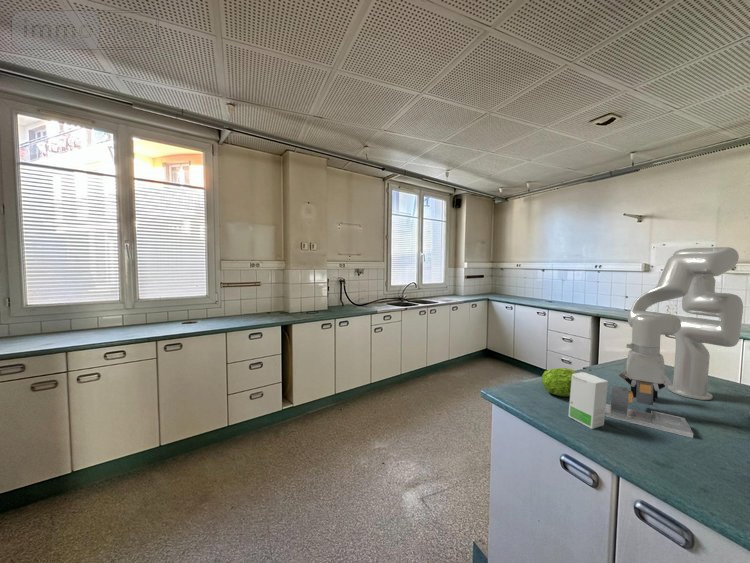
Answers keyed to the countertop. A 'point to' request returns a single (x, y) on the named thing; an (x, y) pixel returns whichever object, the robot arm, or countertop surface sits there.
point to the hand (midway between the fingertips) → (643, 397)
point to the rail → (643, 414)
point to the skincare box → (588, 399)
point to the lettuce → (558, 381)
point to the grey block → (644, 392)
